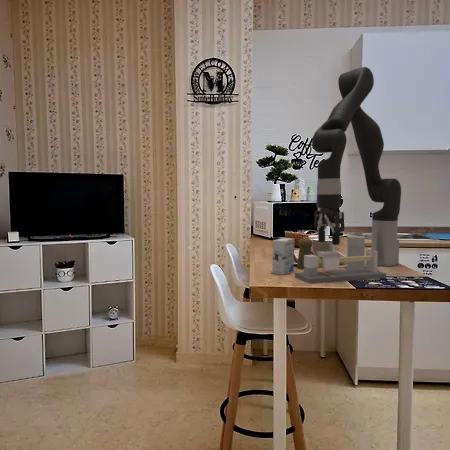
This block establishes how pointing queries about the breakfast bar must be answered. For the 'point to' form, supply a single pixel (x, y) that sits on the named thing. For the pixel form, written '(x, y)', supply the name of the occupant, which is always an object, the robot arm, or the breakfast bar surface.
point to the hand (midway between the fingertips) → (328, 243)
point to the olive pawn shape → (303, 251)
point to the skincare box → (355, 251)
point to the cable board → (316, 276)
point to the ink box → (283, 256)
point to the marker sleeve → (328, 259)
